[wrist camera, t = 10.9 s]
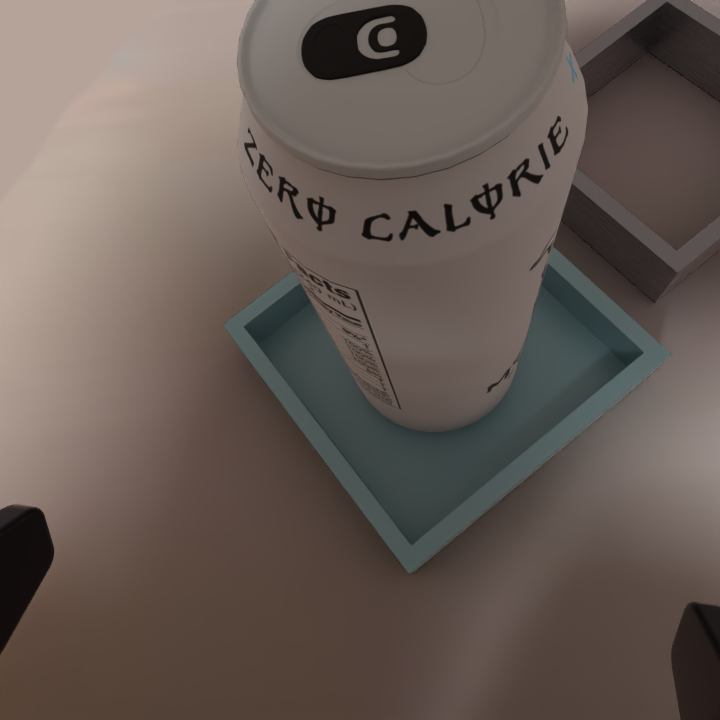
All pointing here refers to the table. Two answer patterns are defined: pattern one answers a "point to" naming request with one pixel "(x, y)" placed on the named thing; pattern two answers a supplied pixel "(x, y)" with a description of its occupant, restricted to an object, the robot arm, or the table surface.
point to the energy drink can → (414, 182)
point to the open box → (594, 205)
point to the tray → (460, 446)
